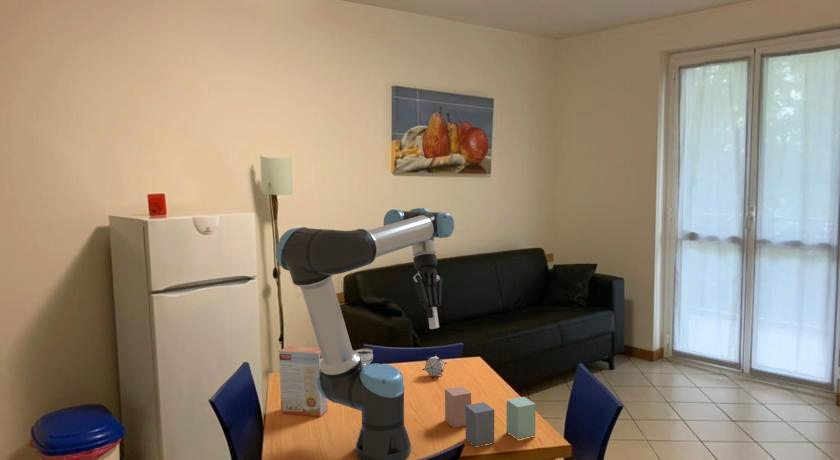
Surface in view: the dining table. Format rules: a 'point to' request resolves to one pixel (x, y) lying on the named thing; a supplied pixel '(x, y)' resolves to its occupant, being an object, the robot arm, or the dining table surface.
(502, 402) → the dining table surface
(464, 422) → the pink block
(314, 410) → the cracker box
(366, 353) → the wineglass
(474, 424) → the slate blue block
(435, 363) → the game die
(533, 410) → the sage block
